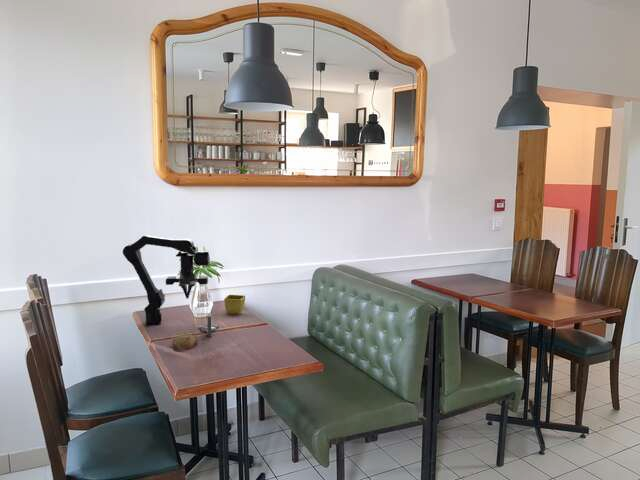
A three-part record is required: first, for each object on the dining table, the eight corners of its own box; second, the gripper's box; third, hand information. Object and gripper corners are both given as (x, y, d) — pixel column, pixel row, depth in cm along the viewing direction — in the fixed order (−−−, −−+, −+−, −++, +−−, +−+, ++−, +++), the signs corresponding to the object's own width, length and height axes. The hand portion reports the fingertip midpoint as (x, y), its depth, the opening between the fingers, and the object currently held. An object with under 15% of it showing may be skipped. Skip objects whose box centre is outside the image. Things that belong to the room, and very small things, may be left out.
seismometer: (198, 324, 231) (198, 305, 230) (218, 323, 233) (217, 304, 232) (198, 337, 213) (198, 317, 212) (220, 336, 215) (219, 315, 214)
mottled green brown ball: (169, 357, 203) (164, 343, 199) (183, 340, 211) (178, 325, 207) (190, 361, 200) (185, 346, 196) (203, 343, 208) (198, 328, 204)
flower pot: (245, 312, 256) (245, 295, 255) (241, 317, 248) (241, 299, 246) (228, 311, 257) (228, 294, 256) (224, 316, 249) (223, 298, 247)
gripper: (163, 269, 224) (163, 303, 226) (205, 269, 226) (206, 302, 229) (167, 264, 235) (168, 297, 237) (208, 264, 237) (208, 296, 240)
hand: (187, 298), depth 235 cm, fingers closed
